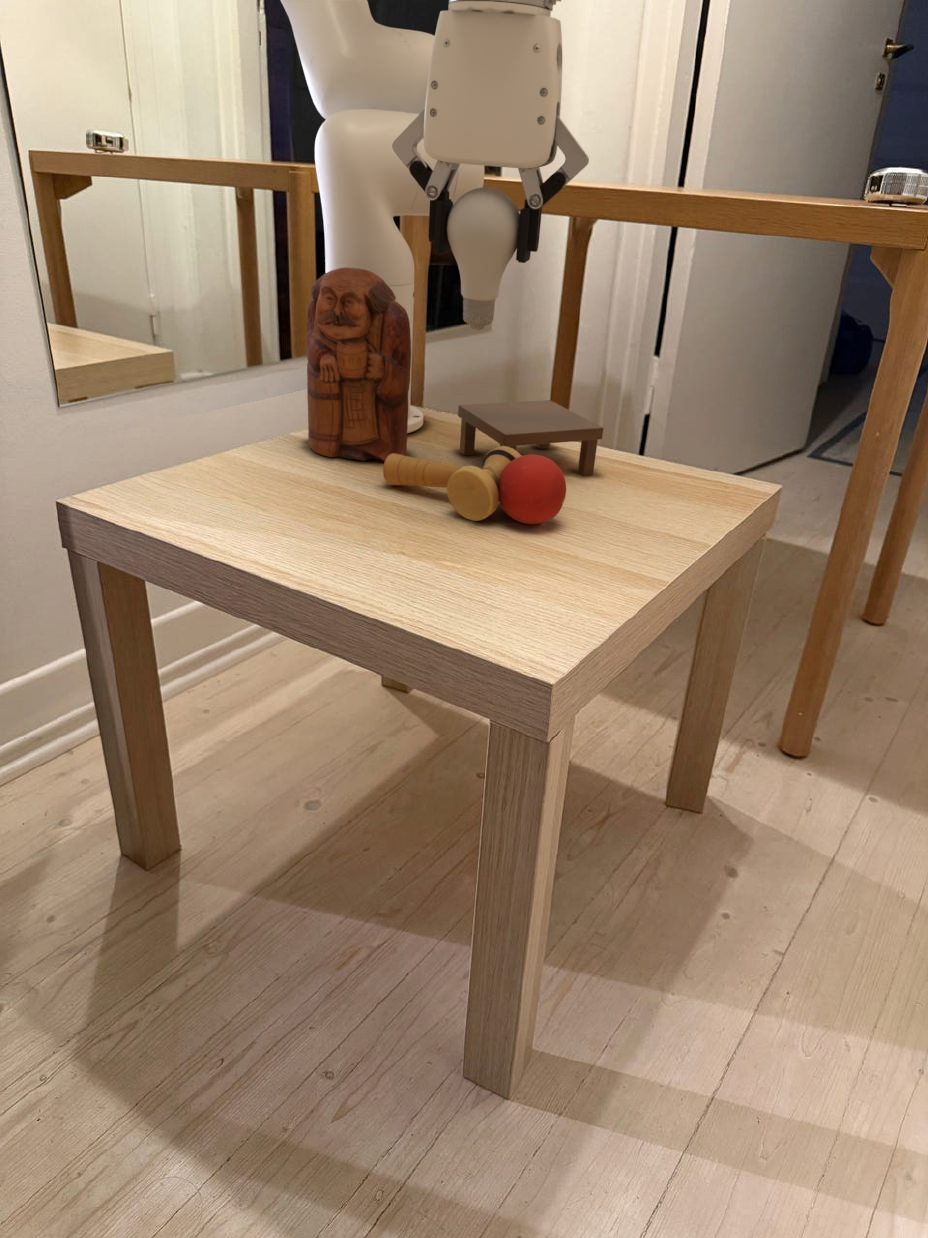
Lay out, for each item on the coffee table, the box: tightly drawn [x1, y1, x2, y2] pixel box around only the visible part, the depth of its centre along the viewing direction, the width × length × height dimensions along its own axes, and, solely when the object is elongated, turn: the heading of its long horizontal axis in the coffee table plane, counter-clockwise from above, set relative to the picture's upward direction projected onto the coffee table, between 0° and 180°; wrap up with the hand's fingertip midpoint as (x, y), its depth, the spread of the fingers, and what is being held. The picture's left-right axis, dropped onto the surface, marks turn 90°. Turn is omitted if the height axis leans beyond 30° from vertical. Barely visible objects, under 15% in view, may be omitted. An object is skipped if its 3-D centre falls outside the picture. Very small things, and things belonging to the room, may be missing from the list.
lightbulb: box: [447, 186, 520, 331], centre depth 75 cm, size 6×6×11 cm
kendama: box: [382, 446, 567, 525], centre depth 82 cm, size 8×6×18 cm
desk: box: [457, 399, 604, 476], centre depth 94 cm, size 11×11×5 cm
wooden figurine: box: [305, 268, 411, 462], centre depth 91 cm, size 12×6×18 cm, turn 75°
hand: (482, 254), depth 75 cm, fingers closed on lightbulb, 6 cm apart
